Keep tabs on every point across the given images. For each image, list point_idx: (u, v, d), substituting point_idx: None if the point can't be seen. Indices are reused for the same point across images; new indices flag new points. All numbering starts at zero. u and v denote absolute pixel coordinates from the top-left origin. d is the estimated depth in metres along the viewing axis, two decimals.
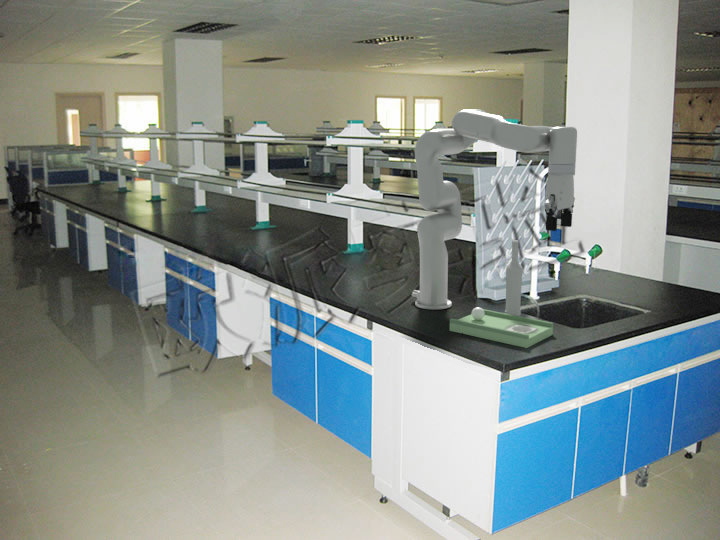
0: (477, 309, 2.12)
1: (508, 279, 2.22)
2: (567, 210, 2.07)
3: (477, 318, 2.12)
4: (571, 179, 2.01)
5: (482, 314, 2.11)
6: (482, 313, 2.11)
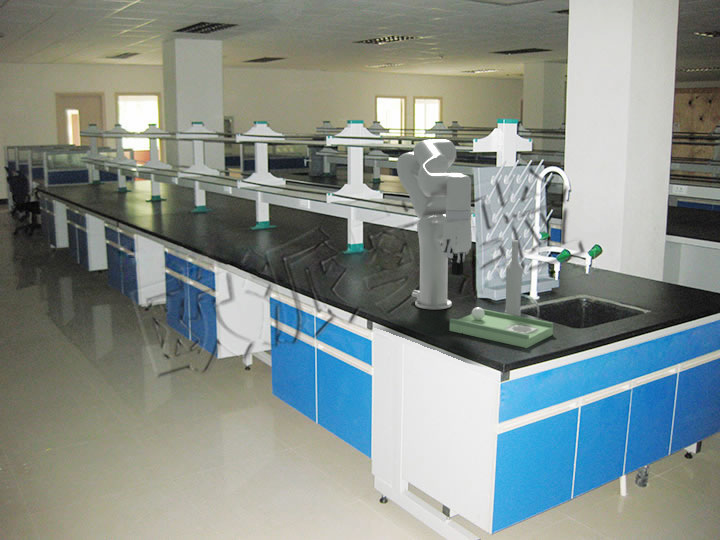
0: (477, 309, 2.12)
1: (508, 279, 2.22)
2: None
3: (477, 318, 2.12)
4: (467, 224, 2.12)
5: (482, 314, 2.11)
6: (482, 313, 2.11)
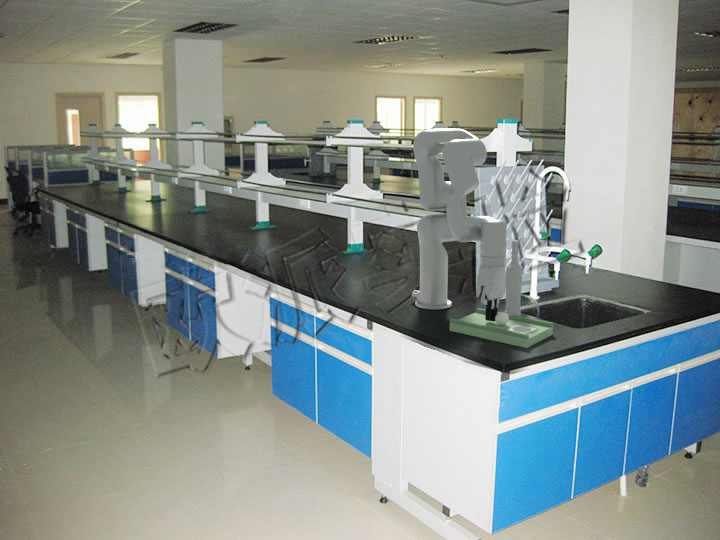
0: (495, 320, 2.08)
1: (508, 279, 2.22)
2: None
3: (501, 316, 2.06)
4: (502, 270, 2.06)
5: (498, 313, 2.07)
6: None
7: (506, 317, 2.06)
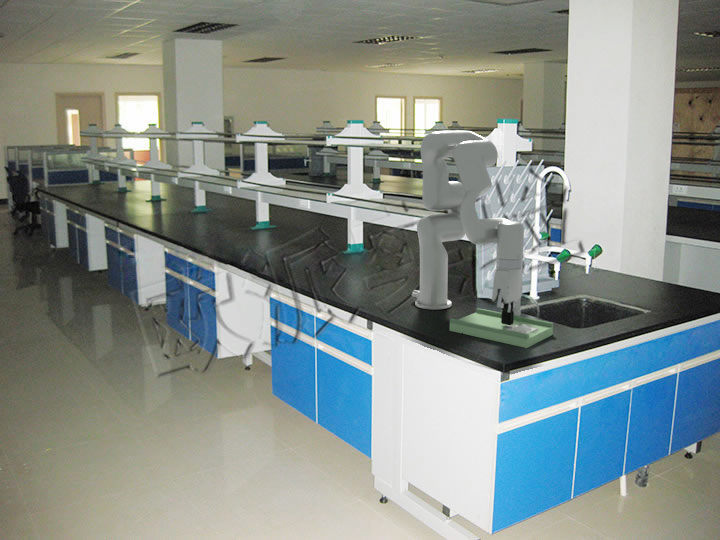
0: None
1: None
2: None
3: None
4: (519, 272, 2.03)
5: None
6: None
7: (518, 327, 2.04)
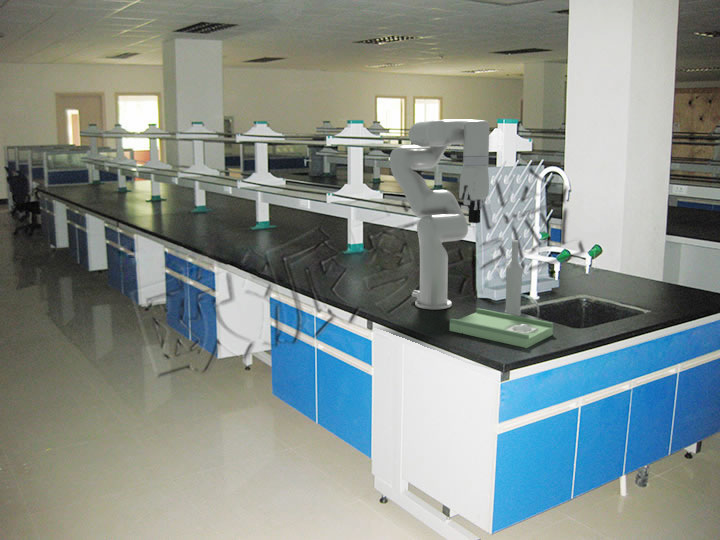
0: None
1: (508, 279, 2.22)
2: None
3: None
4: (485, 171, 2.08)
5: None
6: None
7: None
